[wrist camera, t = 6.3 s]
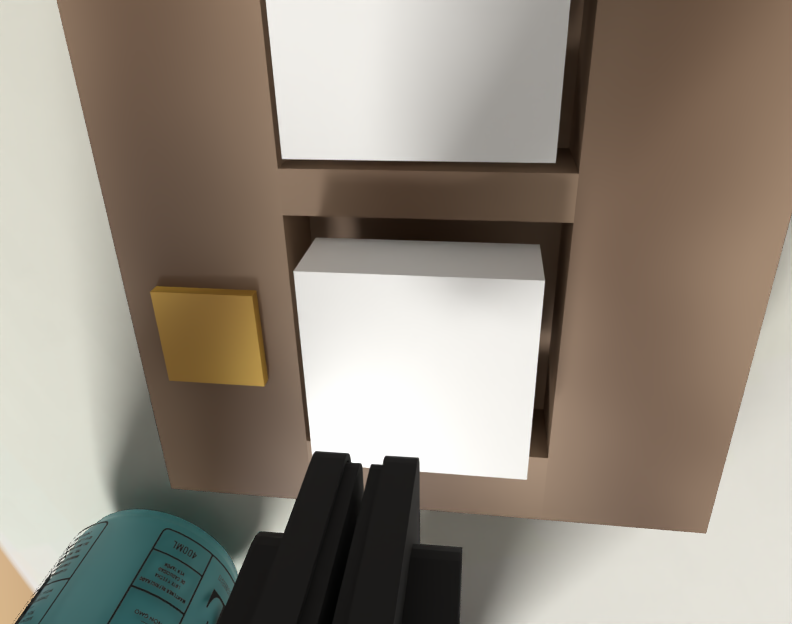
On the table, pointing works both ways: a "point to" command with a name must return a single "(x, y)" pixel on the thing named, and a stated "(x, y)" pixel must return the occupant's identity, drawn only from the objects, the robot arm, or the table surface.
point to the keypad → (458, 222)
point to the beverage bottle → (137, 575)
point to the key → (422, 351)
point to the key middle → (419, 79)
